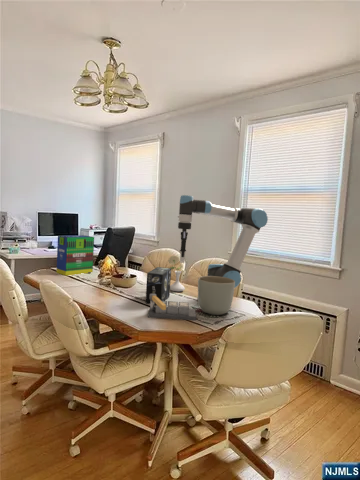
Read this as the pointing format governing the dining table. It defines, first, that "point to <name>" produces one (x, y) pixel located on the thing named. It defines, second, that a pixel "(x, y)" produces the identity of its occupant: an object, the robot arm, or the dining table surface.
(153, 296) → the tan wooden bar
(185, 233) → the robot arm
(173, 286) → the flower in vase
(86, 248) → the box
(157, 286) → the box
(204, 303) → the planter
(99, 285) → the dining table surface
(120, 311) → the dining table surface
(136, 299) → the dining table surface
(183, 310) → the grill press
